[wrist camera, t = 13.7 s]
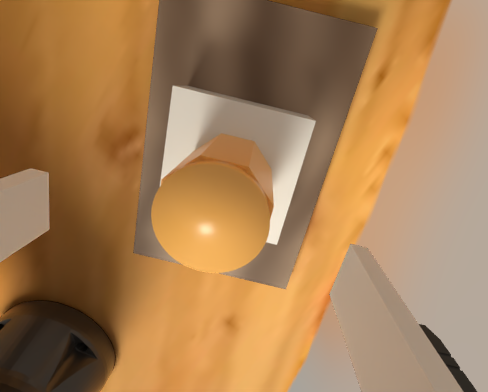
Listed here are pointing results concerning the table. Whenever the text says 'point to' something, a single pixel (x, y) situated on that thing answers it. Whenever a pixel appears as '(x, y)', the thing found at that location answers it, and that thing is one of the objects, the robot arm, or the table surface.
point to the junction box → (243, 126)
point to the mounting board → (255, 97)
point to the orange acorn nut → (215, 206)
